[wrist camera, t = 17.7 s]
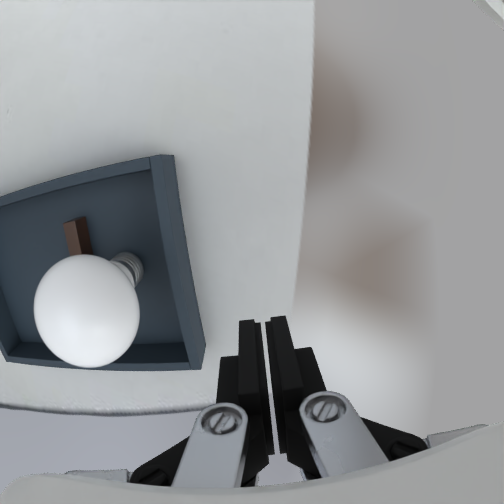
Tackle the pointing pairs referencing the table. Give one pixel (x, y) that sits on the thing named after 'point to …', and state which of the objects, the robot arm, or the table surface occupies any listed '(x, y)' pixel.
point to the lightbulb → (89, 308)
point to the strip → (77, 236)
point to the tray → (106, 246)
